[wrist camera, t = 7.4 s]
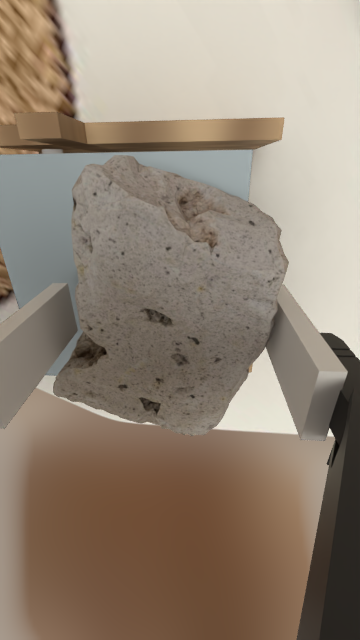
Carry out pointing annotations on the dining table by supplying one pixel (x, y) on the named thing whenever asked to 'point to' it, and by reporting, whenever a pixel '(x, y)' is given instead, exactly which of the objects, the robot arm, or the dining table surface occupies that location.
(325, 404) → the robot arm
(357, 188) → the dining table surface
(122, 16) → the dining table surface
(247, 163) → the blue-grey flat square block
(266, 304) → the stone
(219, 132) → the frame
